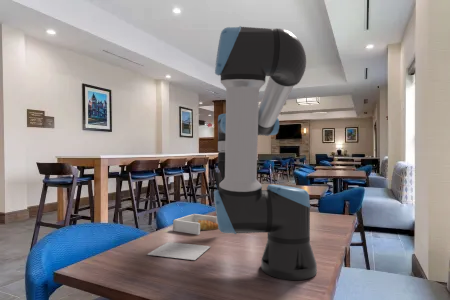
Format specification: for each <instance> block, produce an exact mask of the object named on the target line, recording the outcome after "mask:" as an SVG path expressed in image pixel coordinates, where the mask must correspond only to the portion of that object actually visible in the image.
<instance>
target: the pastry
mask: <svg viewBox="0 0 450 300" xmlns="http://www.w3.org/2000/svg"><path fill="white" fill-rule="evenodd" d="M198 223H200V231H202V230H204V231H215V230H219V228H218V224H217V223H214V222H212V221H208V220H202V221H201V220H198Z"/></svg>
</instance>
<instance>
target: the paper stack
mask: <svg viewBox="0 0 450 300" xmlns="http://www.w3.org/2000/svg"><path fill="white" fill-rule="evenodd" d="M211 247H212V246H211V245H201V244H191V243H181V242H172V241H167V242H165V243H164V244H162V245H160V246H159V247H157V248H155V249H154V250H152V251H150V252H148V253H147V254H146V255H147V256H158V257H165V258H175V259H182V260H188V261H190V260H191V261H196V260H197V259H198V258H200V257H201V255H203V254H204V253H205V252H206V251H208V250H209V249H210V248H211Z"/></svg>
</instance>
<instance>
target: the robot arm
mask: <svg viewBox="0 0 450 300" xmlns="http://www.w3.org/2000/svg"><path fill="white" fill-rule="evenodd" d="M219 35H220V36H219V40H218V45H217V46H218V47H217V52H216V53H217V54H216V59H215V69H214V73H215V75H217V76H218V77H219V76H220V83H221V85H222V86H224V88H225V90H226V91H225V113H221V114H219V115H218V116H217V152H218V153H217V161H218V164H217V167H216V168H213V169H212V173H213V174H214V178H215V183H216V190H214V191H213V196H214V197H213V199H214V200H213V201H214V207H215V214H216V215H215V216H216V217H217V222H218V230H219V232H221V233H223V234H234V235H237V234H260V233H261V234H262V233H263V234H264V233H267V241H266V243H265V248H264V250H263V254H262V257H261V266H260V267H261V270H262V272H263V273H264V274H266V275H268V276H271V277H274V278H277V279H280V280H287V281H289V280H290V281H301V280H309V279H311V278H314V277H315V276H316V275H317V273H318V272H317V271H318V270H317V269H318V266H317V265H318V264H317V261H316V258H315V255H314V251H313V248H312V246H311V239H310V238H311V205H310V204H311V203H310V201H311V200H310V194H309V192H308V191H307V190H305V189H304V188H299V187H294V186H290V185H289V186H288V185H280V184H268V185H267V186H266V189H262V188H263V186H262V183H261V182H260V181H259V180H258V179H257V174H258V173H257V172H258V171H257V170H258V143H259V142H258V141H259V137H258V136H267V137H269V136H276V135H277V134H278V133H279V129H280V119H279V116H280V114H281V112H282V109H283V108H284V105H285V103H286V102H287V100H288V97H289V96H290V94H291V92H292V89H294V87H295V86H296V85H298V84H299V83H300V82H301V80H302V78H303V76H304V75H305V71H306V66H307V55H306V51H305V49H304V45H303V44H302V43H301V42H302V41H300V39H299V38H298V37H297V36H296V35H295V34H293V33H292V32H291V31H289V30H287V29H283V28H269V27H268V28H264V27H249V26H241V25H239V26H235V27H230V26H228V27H224V28H223V29H222V30H221V32H220V34H219ZM266 77H269V79H268V80H267V84H266V79H267V78H266ZM265 84H266V86H265V89H264V92H263V94H262V97H261V101H260V89H261V88H262V87H263V86H264V85H265Z"/></svg>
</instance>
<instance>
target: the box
mask: <svg viewBox="0 0 450 300" xmlns="http://www.w3.org/2000/svg"><path fill="white" fill-rule="evenodd" d="M198 220H201V221H202V220H208V221H212V222H214V223H217V224H218V222H217V215H215V216H214V215H207V214H206V215H205V214H199V213H193V214H188V215H185V216H182V217H179V218H175V219H173V220H172V227H173V228H172V231H174V232H179V233H184V234H190V235H197V236H199V235H201V230H200V223H198Z"/></svg>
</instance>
